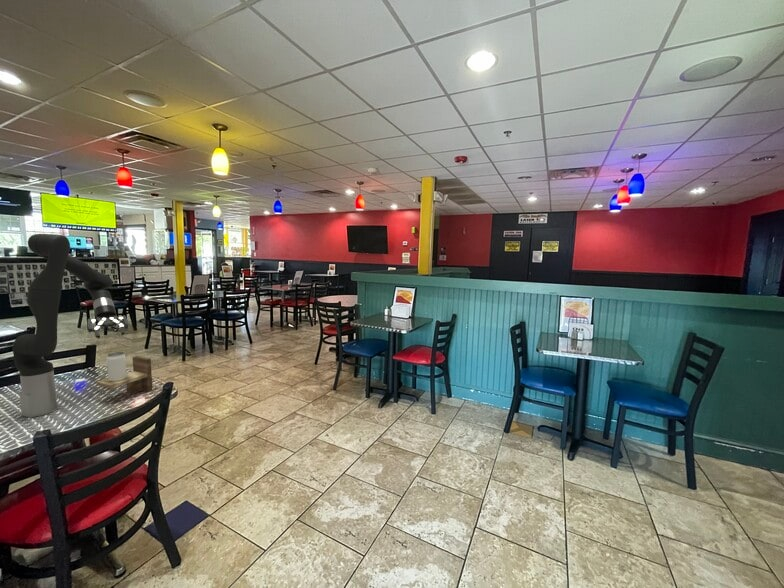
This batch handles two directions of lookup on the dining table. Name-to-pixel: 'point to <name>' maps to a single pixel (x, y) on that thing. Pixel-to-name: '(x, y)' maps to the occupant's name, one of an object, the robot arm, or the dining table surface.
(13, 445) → the dining table surface
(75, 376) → the dining table surface
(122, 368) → the can
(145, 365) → the wooden l-shaped bracket
